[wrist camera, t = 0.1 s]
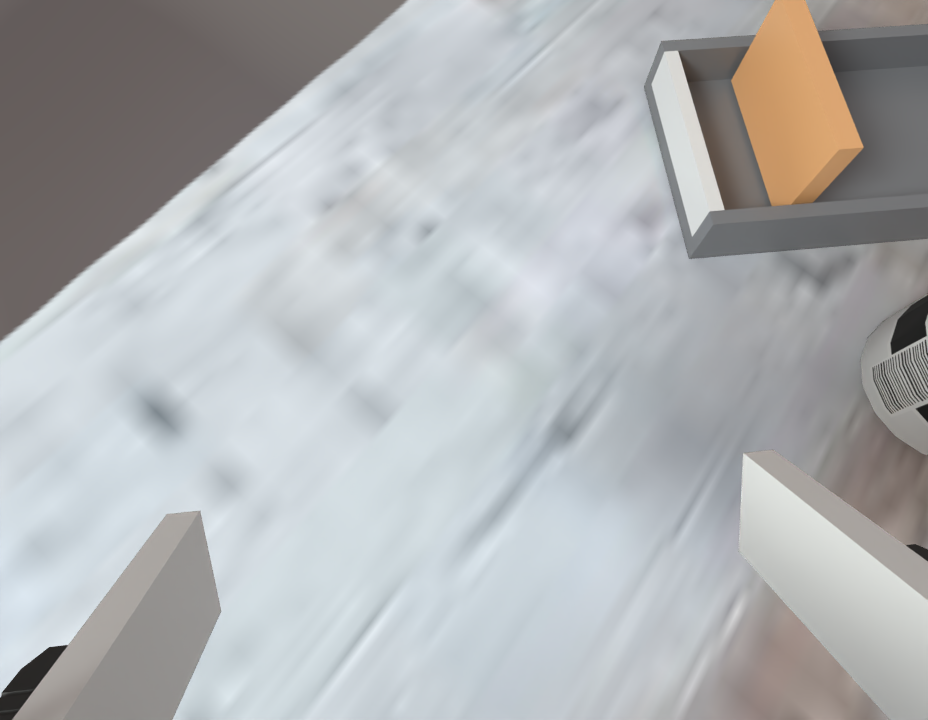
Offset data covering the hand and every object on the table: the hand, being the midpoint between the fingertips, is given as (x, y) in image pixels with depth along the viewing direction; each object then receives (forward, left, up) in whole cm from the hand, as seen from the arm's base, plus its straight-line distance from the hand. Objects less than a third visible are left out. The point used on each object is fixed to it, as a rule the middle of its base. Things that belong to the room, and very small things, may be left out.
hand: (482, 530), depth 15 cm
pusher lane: (+21, -27, -15) cm, 38 cm away
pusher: (+21, -21, -14) cm, 33 cm away
